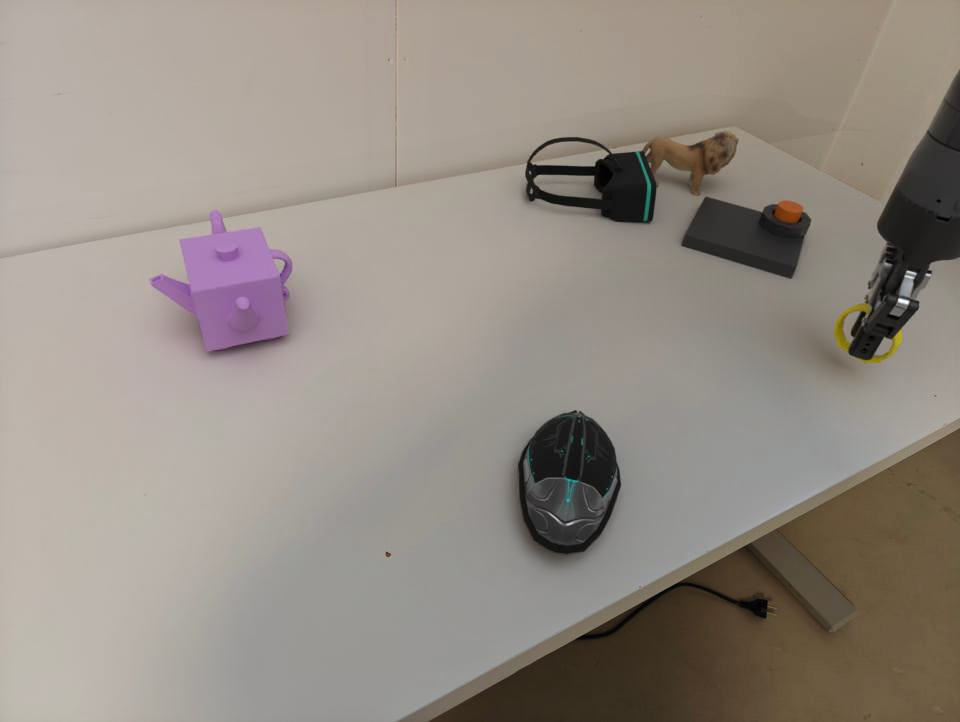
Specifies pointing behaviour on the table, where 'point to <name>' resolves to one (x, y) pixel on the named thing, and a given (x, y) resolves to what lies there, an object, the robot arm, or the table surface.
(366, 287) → the table surface
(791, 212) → the button
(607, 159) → the virtual reality headset
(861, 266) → the table surface
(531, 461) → the computer mouse
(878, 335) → the robot arm
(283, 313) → the teapot
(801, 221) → the button base plate
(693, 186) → the lion figurine
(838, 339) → the watch
